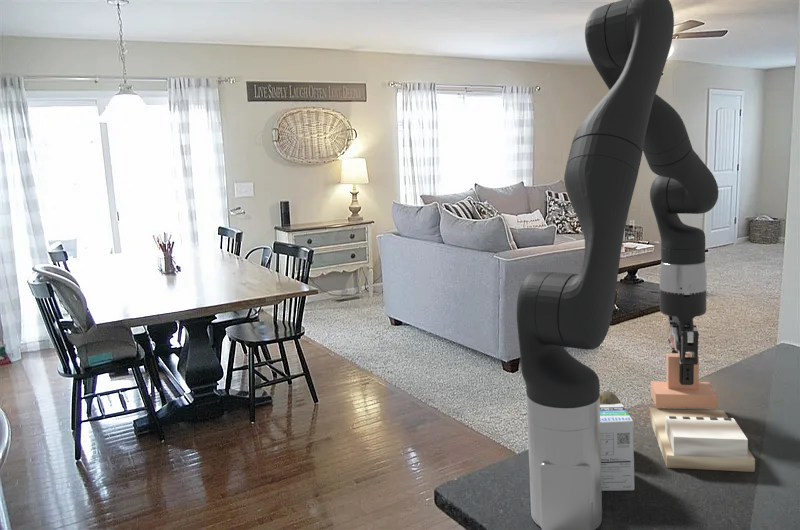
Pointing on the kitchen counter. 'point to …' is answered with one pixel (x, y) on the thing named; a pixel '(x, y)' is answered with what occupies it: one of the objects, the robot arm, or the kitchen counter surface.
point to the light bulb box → (616, 448)
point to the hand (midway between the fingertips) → (682, 376)
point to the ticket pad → (689, 460)
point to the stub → (682, 388)
